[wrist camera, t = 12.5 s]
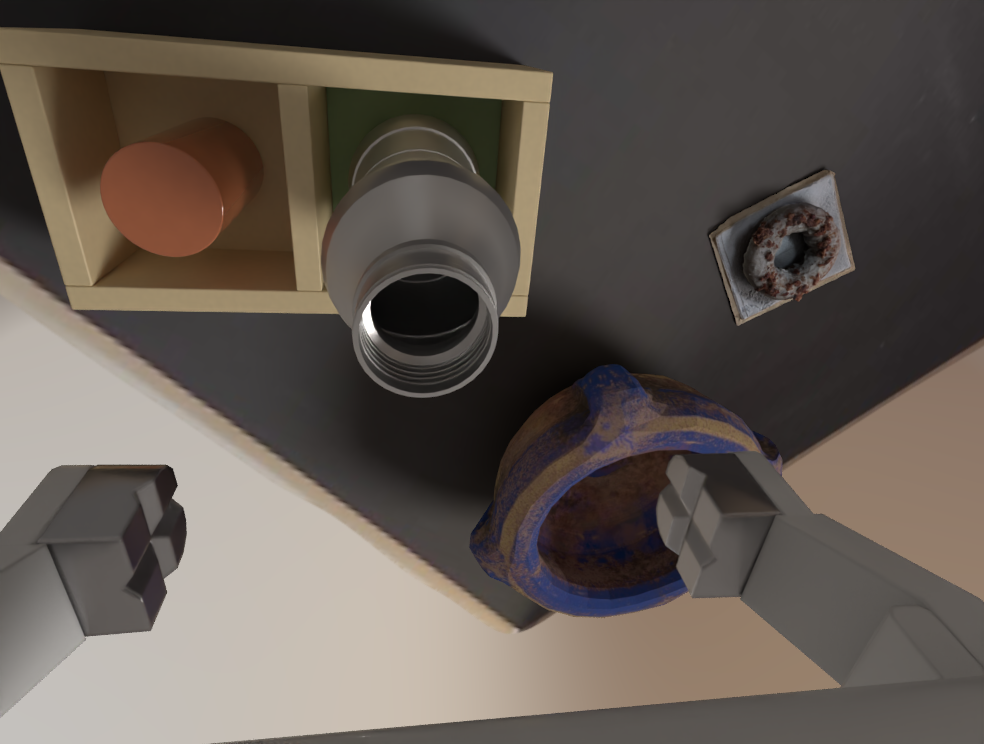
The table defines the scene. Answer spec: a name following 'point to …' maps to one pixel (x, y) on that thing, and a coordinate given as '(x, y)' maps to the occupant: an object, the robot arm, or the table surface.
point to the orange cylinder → (181, 185)
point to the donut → (783, 247)
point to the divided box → (278, 137)
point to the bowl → (600, 492)
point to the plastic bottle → (420, 257)
